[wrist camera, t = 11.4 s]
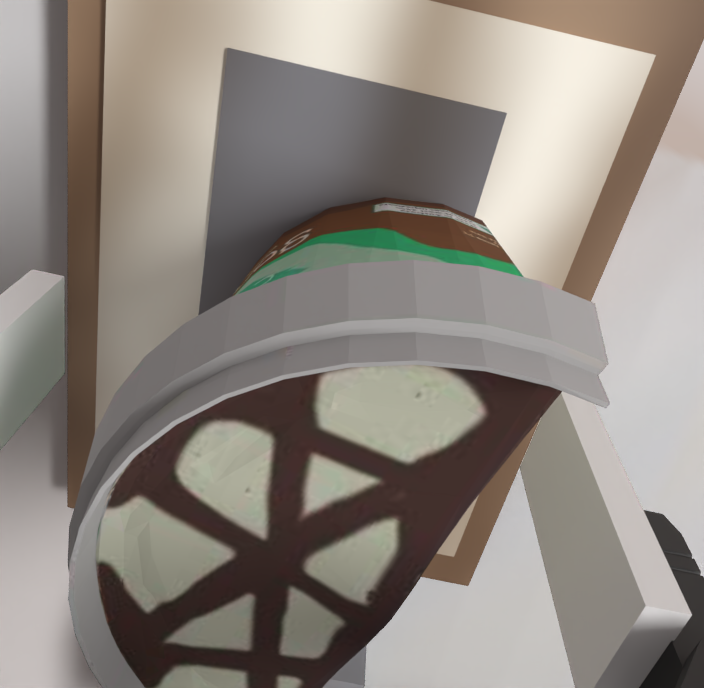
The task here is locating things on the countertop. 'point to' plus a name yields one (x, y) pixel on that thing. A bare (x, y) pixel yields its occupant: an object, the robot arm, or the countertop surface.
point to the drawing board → (344, 154)
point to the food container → (312, 447)
